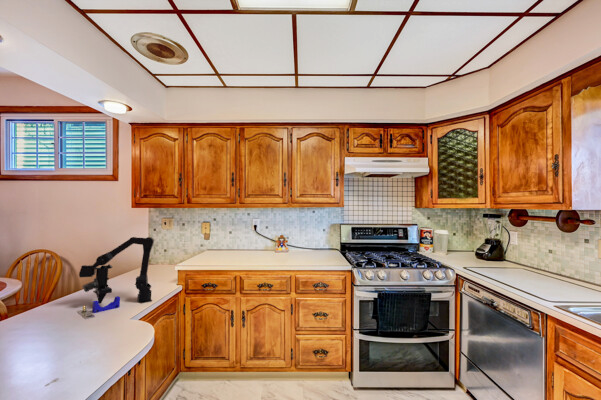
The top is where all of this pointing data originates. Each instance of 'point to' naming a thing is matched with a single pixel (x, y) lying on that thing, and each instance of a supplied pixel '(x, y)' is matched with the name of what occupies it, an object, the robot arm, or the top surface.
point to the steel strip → (85, 313)
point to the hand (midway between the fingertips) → (99, 303)
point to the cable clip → (110, 306)
